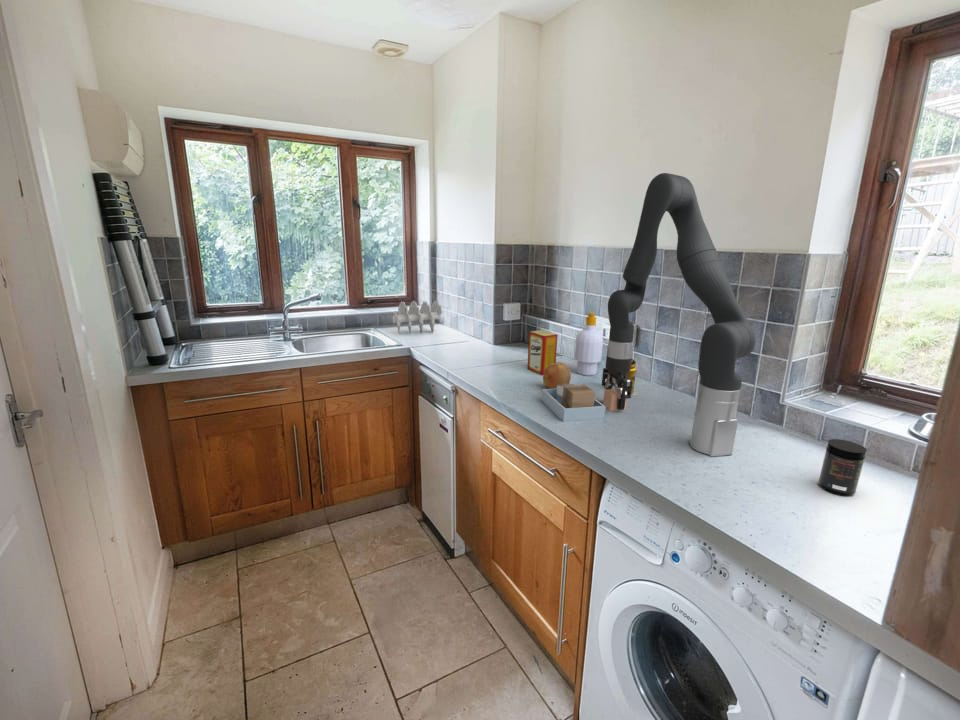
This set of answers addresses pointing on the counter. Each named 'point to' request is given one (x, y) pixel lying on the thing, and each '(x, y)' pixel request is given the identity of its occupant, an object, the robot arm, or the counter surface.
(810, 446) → the counter surface
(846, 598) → the counter surface
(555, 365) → the onion
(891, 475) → the counter surface
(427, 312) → the grey lumpy piece
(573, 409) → the tote
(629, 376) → the condiment
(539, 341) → the baking soda box
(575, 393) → the walnut block
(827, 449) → the supplement container
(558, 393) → the grey tin
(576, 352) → the soap bottle
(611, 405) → the peach rectangular block
